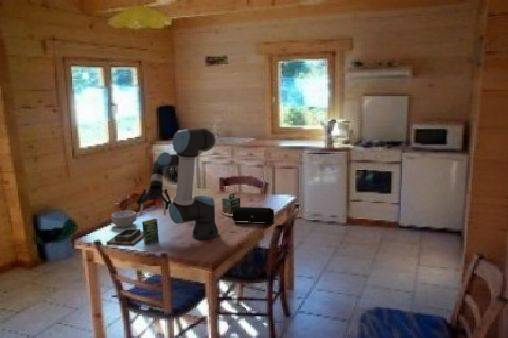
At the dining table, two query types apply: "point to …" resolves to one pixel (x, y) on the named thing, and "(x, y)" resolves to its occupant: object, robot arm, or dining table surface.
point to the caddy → (127, 237)
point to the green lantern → (230, 203)
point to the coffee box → (150, 231)
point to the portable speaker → (253, 214)
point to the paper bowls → (123, 218)
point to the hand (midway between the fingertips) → (152, 214)
